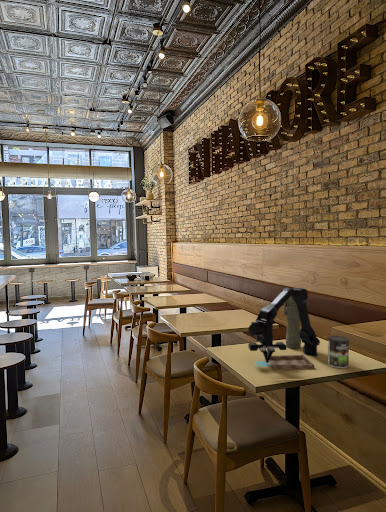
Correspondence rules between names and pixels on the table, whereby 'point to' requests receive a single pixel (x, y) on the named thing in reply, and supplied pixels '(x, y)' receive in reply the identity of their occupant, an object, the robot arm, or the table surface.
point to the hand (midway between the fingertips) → (267, 362)
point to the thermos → (292, 324)
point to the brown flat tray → (290, 362)
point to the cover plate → (262, 364)
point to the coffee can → (338, 351)
